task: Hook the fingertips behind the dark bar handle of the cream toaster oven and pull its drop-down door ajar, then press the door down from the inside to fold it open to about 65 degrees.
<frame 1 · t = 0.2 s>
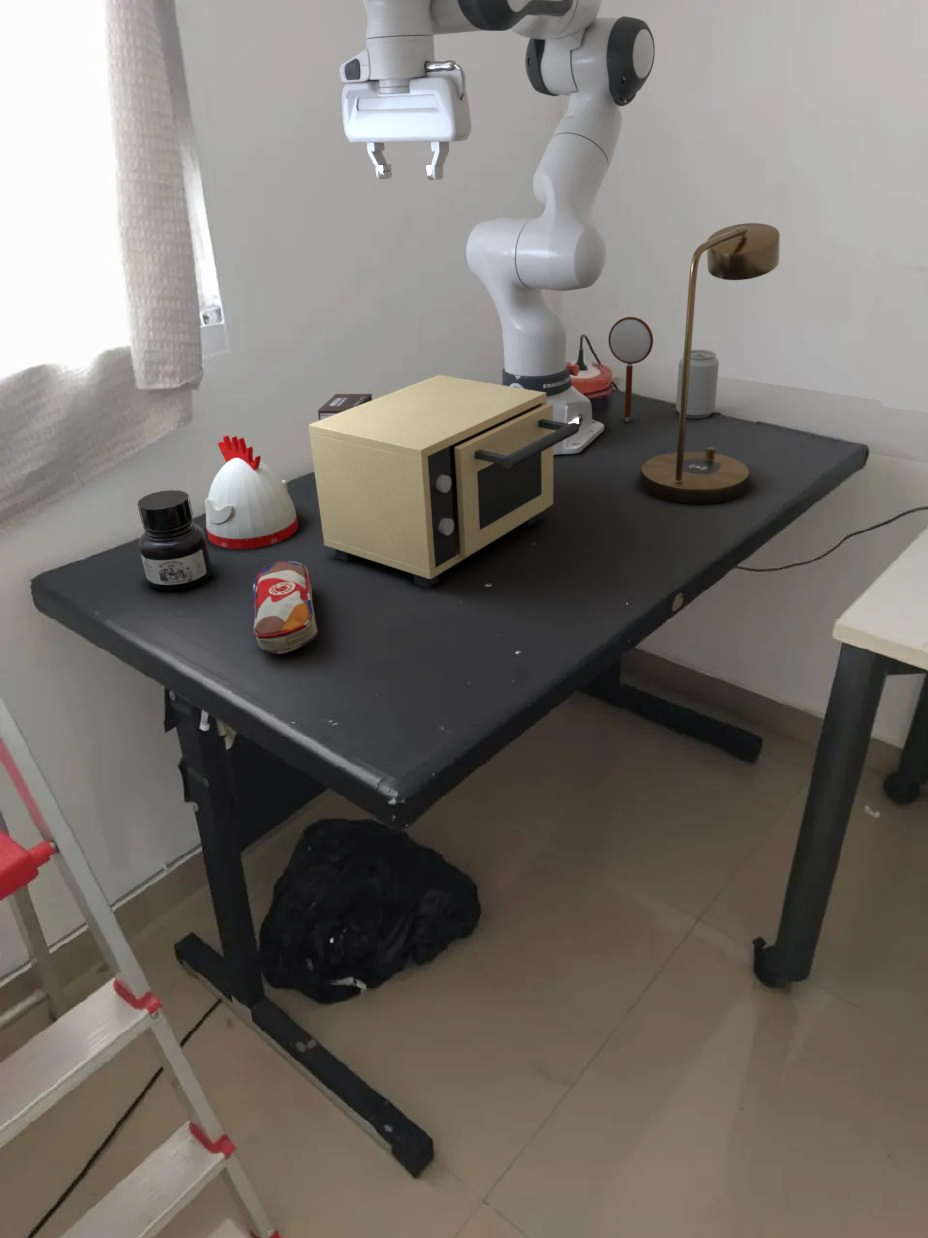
hand: (409, 178, 131), 48 cm above the table, tool pointing down, fingers open, 8 cm apart
kitchen timer: (253, 530, 147), on the table
ink bottle: (180, 579, 134), on the table
magnifying glass: (627, 422, 185), on the table
can: (694, 414, 187), on the table
coffee box: (355, 496, 158), on the table
oven: (439, 538, 141), on the table
oven door: (525, 482, 130), point 11 cm above the table, hinge at 0.0°
lamp: (705, 475, 158), on the table
pencil case: (287, 621, 122), on the table
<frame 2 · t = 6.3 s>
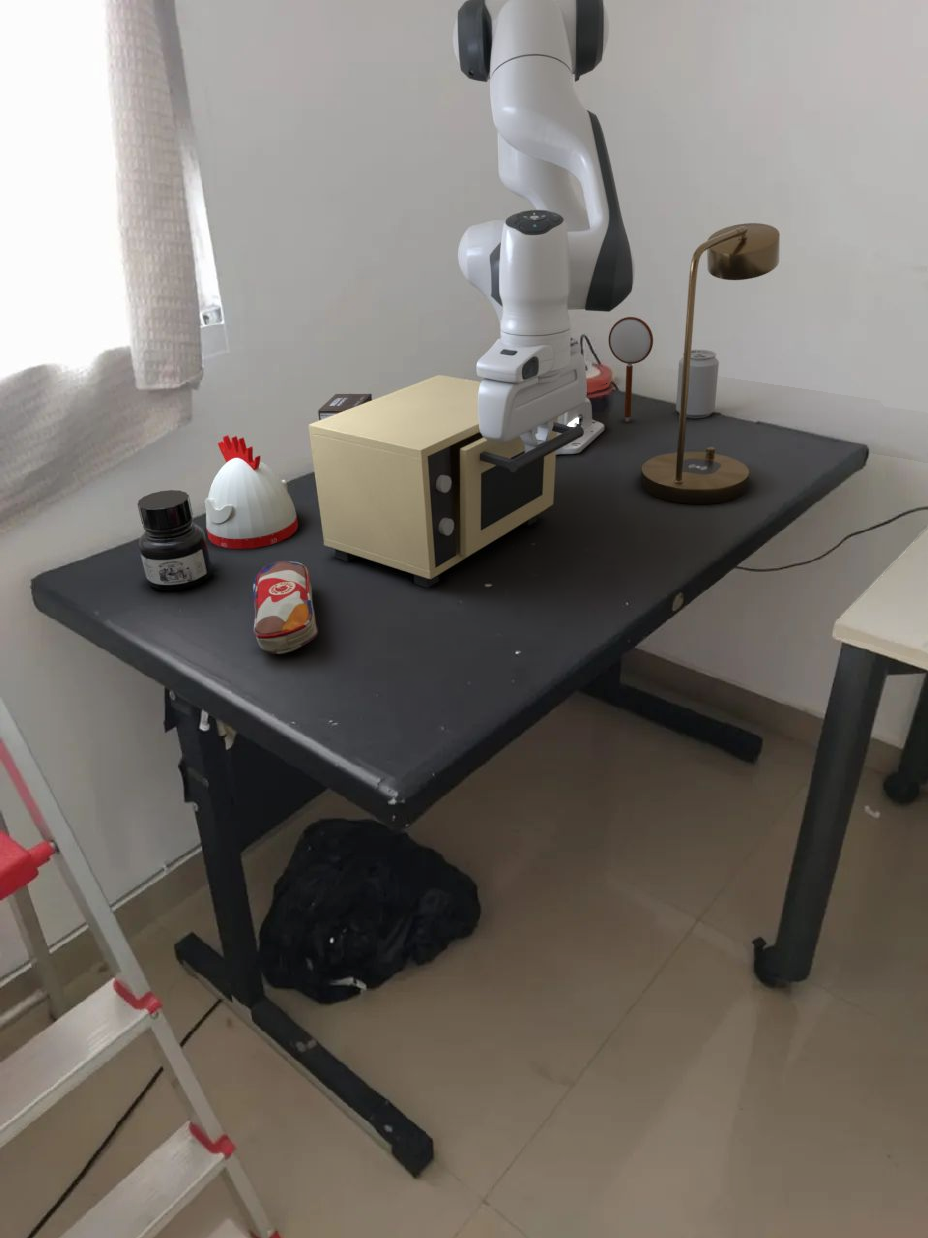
hand: (536, 454, 127), 15 cm above the table, tool pointing down, fingers closed, pressing on oven door
oven door: (528, 484, 130), point 11 cm above the table, hinge at 3.3°, touching gripper
everything else where it was.
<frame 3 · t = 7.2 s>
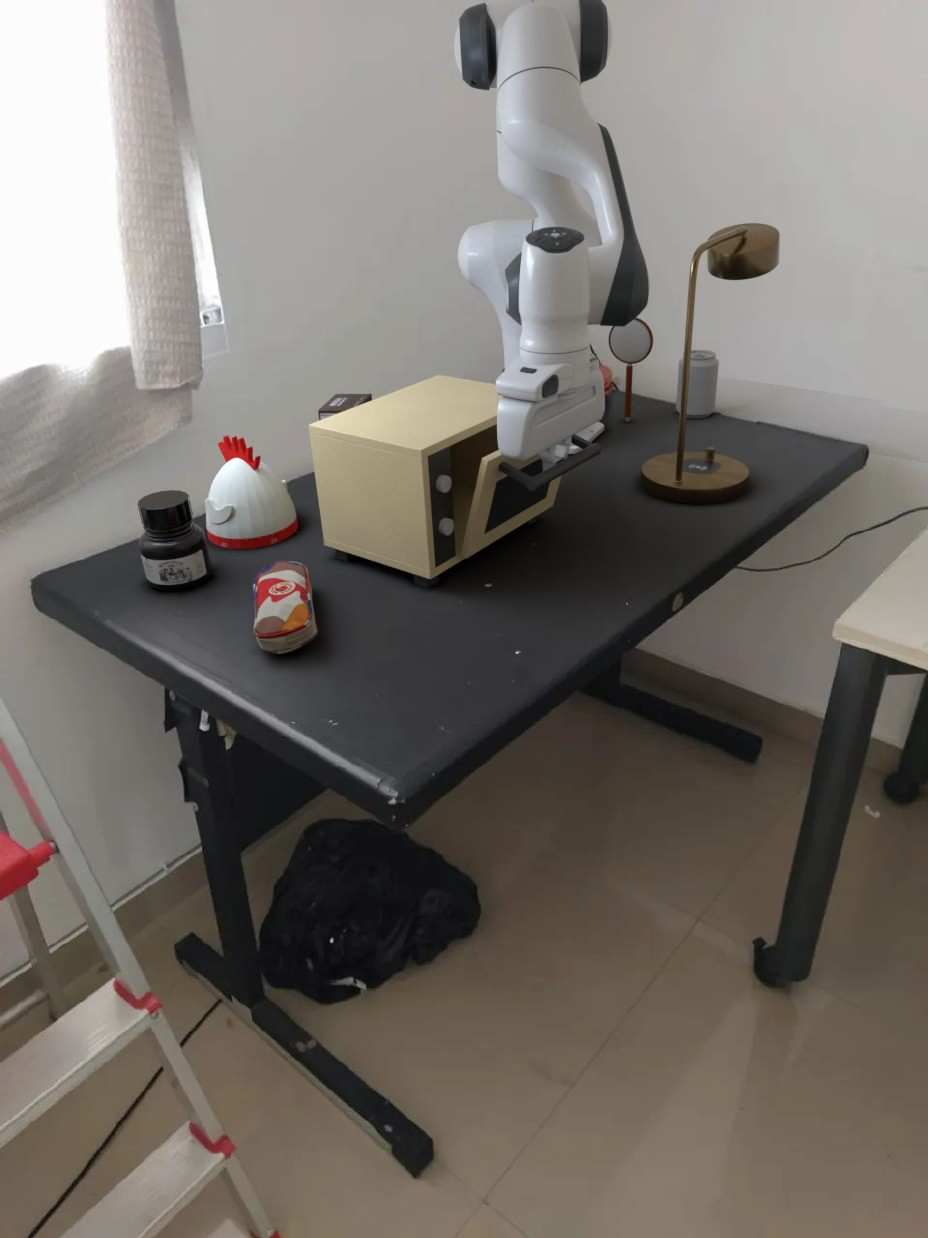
hand: (554, 471, 126), 13 cm above the table, tool pointing down, fingers closed, pressing on oven door
oven door: (538, 494, 129), point 10 cm above the table, hinge at 16.6°, touching gripper
everything else where it was.
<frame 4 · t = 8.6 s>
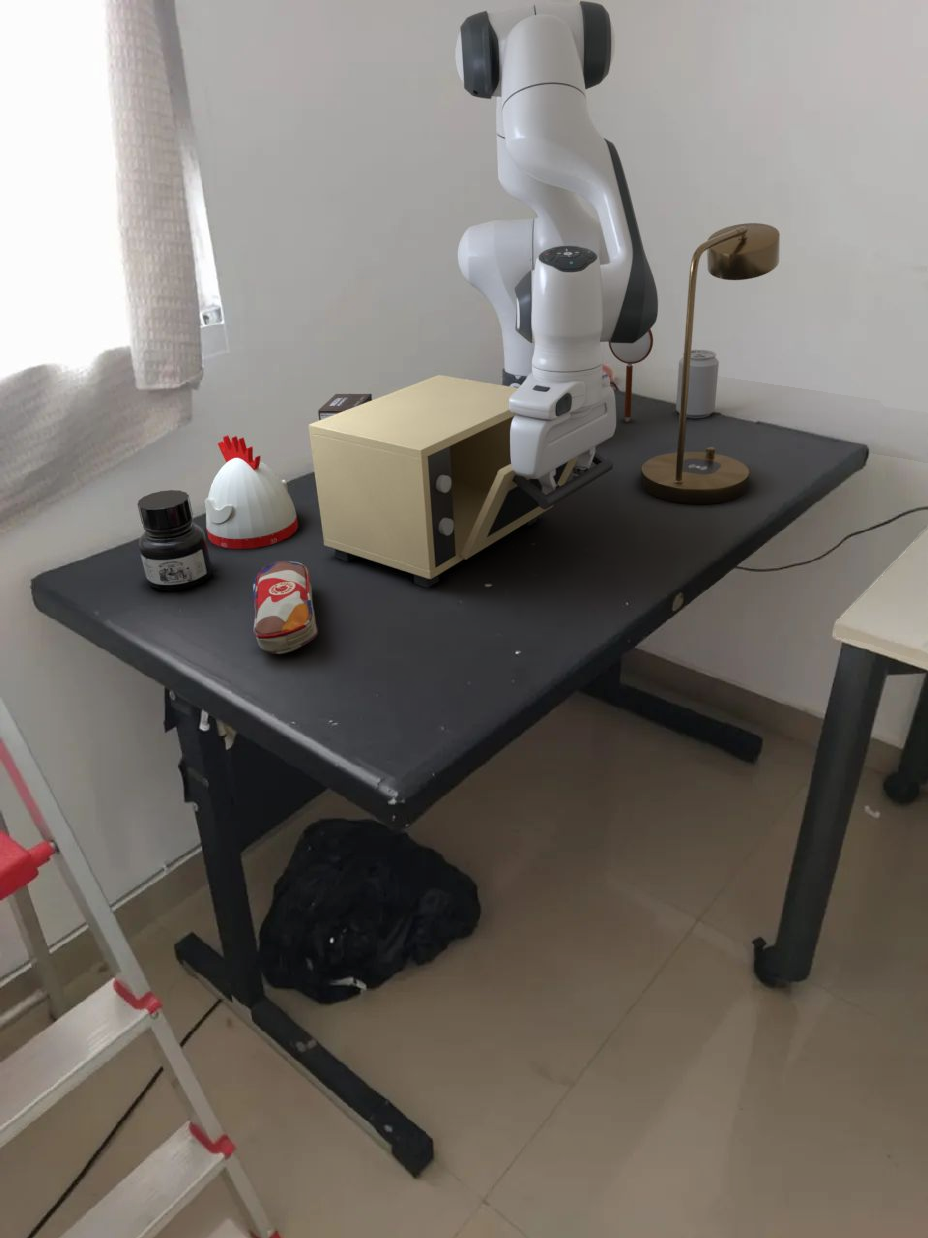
hand: (566, 488, 126), 11 cm above the table, tool pointing down, fingers open, 6 cm apart
oven door: (544, 503, 129), point 8 cm above the table, hinge at 27.1°, touching gripper
everything else where it was.
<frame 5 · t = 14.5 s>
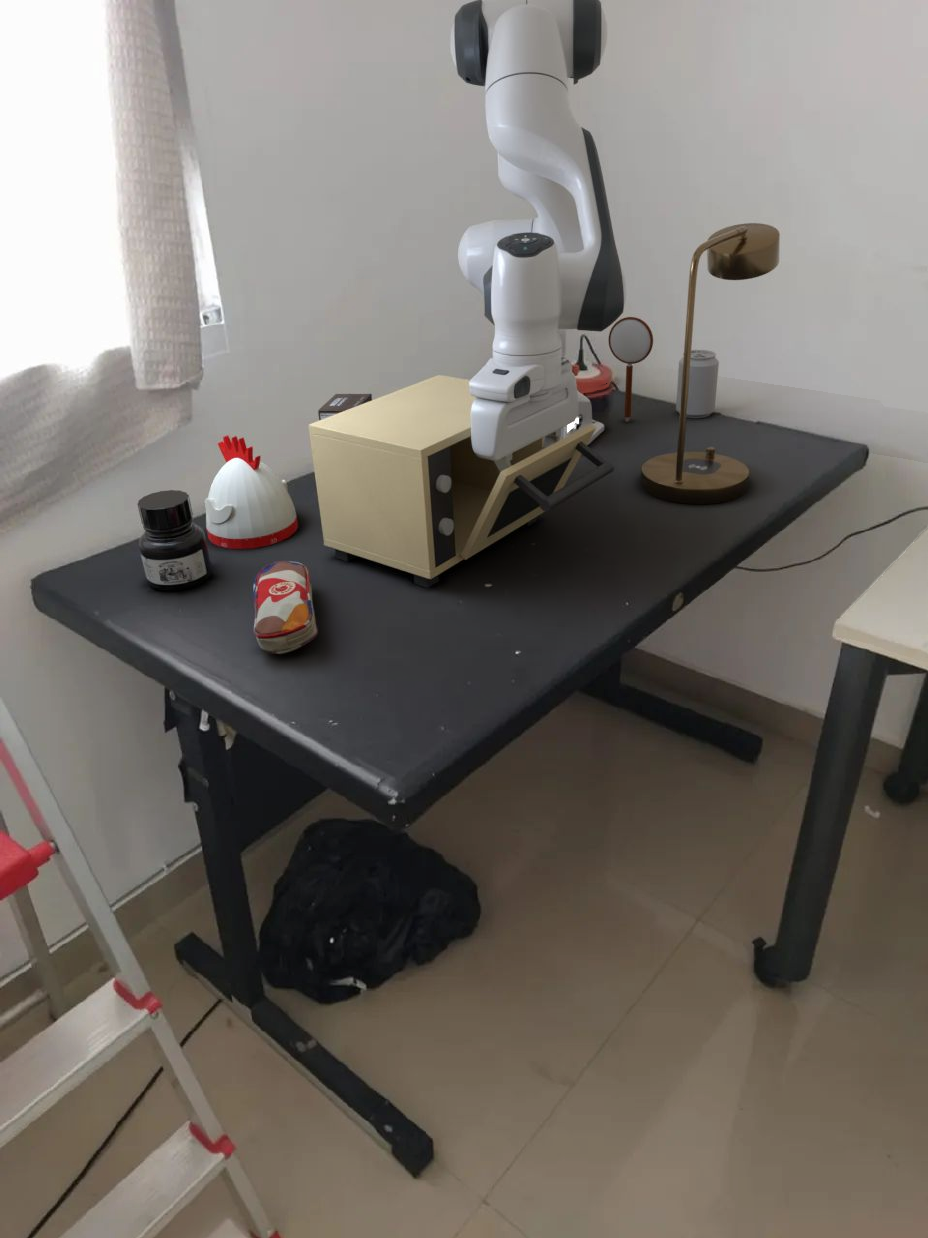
hand: (528, 471, 129), 13 cm above the table, tool pointing down, fingers open, 8 cm apart
oven door: (545, 504, 129), point 8 cm above the table, hinge at 28.4°, touching gripper
everything else where it was.
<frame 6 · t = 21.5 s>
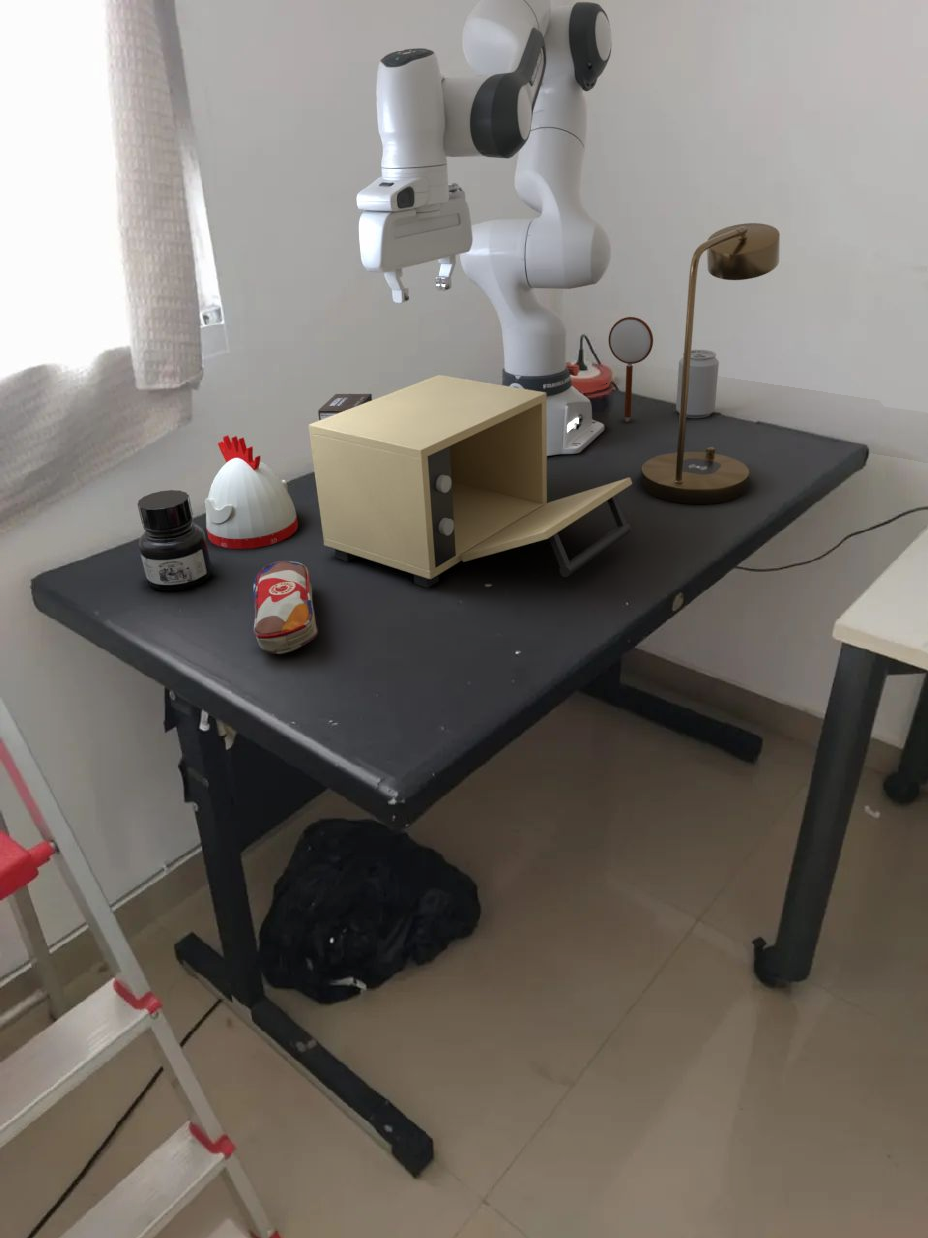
hand: (422, 295, 134), 33 cm above the table, tool pointing down, fingers open, 8 cm apart
oven door: (555, 539, 131), point 3 cm above the table, hinge at 63.5°
everything else where it was.
at the end: oven door at +64° (first picture: +0°); the gripper is holding nothing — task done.
